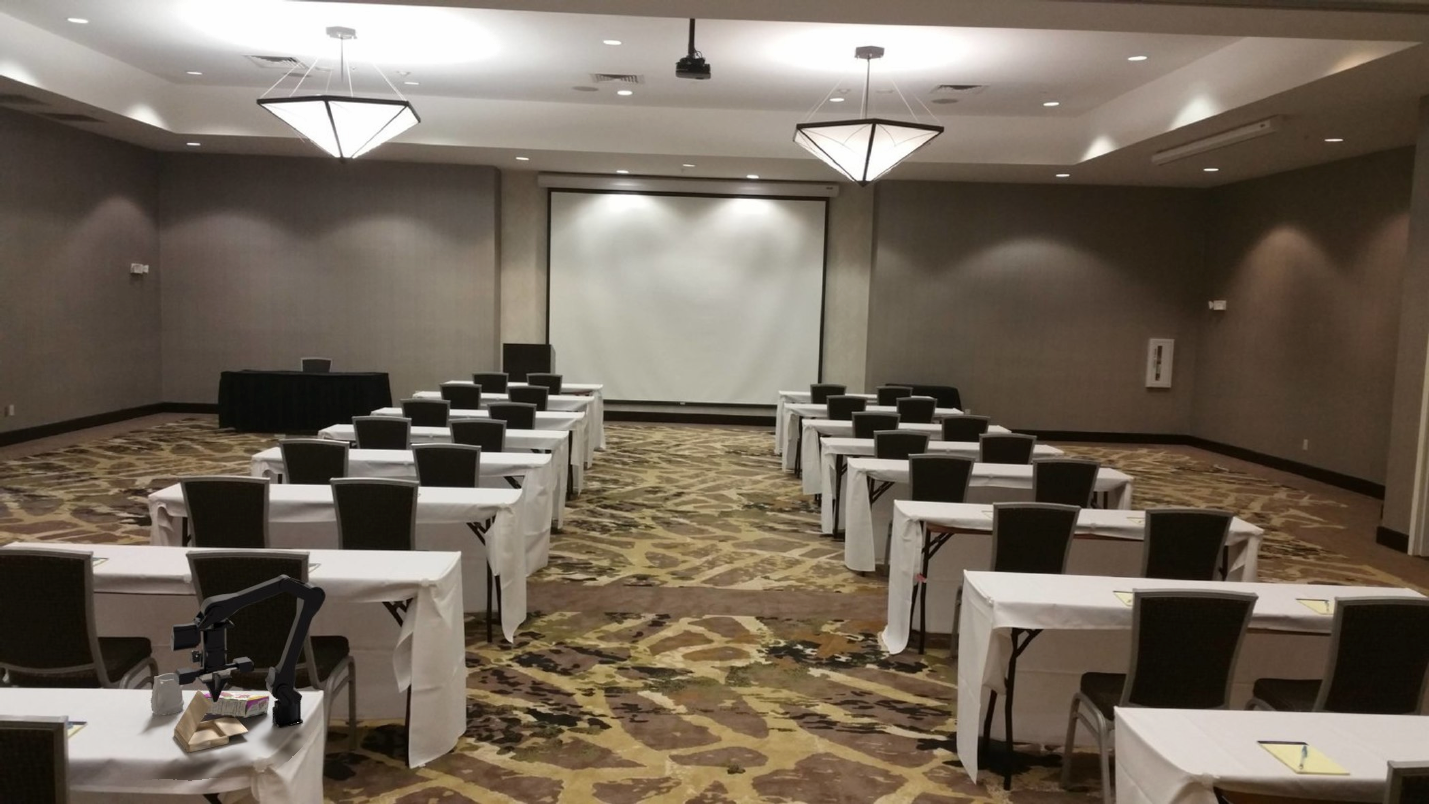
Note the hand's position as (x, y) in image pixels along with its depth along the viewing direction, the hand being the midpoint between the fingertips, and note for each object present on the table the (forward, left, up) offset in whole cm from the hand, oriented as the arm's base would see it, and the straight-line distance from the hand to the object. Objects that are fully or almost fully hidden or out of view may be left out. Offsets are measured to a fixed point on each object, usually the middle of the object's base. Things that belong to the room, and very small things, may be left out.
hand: (214, 701), depth 277 cm
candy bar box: (-2, -18, -6) cm, 19 cm away
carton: (+1, 0, -10) cm, 10 cm away
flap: (+8, 0, -7) cm, 11 cm away
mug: (+6, -26, -10) cm, 28 cm away
